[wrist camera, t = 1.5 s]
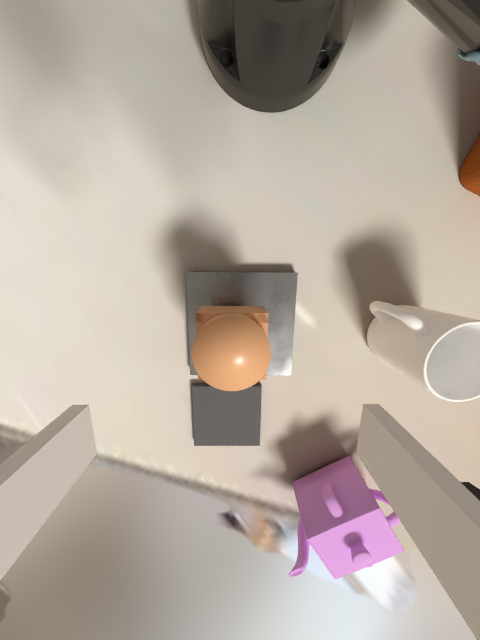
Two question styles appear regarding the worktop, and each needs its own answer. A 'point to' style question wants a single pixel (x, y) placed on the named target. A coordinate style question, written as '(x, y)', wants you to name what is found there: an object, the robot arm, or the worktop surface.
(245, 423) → the pad
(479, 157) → the orange rounded block
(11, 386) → the worktop surface
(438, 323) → the cup
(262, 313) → the cap
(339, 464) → the teapot
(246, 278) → the post fixture
